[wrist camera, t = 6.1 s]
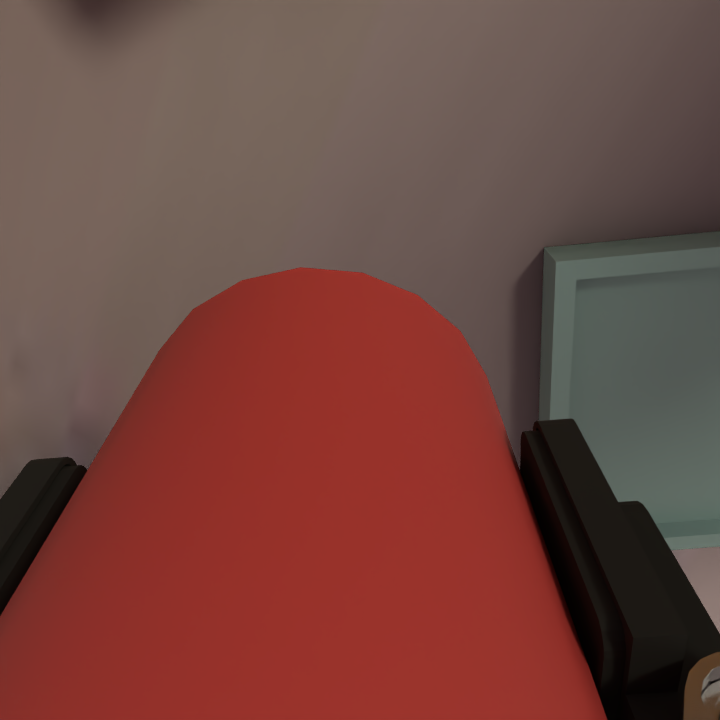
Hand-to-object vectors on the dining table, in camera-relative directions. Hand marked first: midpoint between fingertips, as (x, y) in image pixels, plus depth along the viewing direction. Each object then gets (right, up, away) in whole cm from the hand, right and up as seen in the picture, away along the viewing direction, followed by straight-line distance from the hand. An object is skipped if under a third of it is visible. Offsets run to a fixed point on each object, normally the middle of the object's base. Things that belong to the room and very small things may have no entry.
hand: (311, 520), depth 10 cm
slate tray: (+16, +1, +20) cm, 26 cm away
